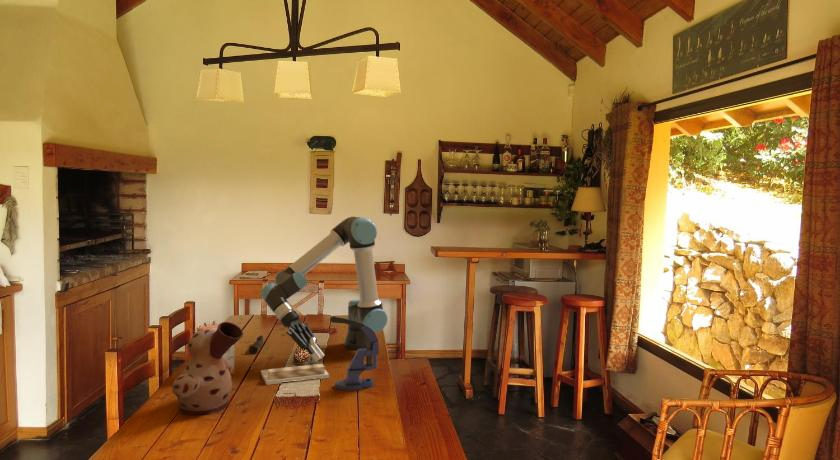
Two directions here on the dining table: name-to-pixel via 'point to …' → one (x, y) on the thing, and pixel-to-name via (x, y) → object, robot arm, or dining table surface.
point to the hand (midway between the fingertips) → (320, 358)
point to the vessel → (207, 371)
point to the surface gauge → (311, 359)
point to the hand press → (359, 359)
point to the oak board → (296, 371)
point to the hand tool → (256, 345)
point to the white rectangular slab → (278, 381)
